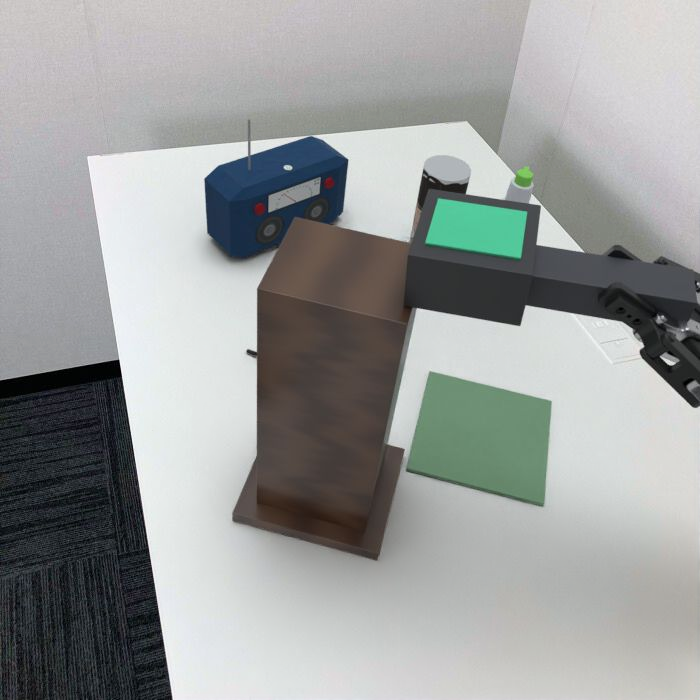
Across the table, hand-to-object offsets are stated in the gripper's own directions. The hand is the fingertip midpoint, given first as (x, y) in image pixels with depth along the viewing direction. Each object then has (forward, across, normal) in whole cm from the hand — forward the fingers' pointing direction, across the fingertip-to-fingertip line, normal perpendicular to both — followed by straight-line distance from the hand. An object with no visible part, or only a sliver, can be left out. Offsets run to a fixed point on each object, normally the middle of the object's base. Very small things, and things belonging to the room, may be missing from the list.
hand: (607, 273), depth 56 cm
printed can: (-2, -45, +40) cm, 60 cm away
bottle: (-11, -39, +35) cm, 54 cm away
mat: (-13, -12, +34) cm, 38 cm away
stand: (+2, +1, +41) cm, 41 cm away
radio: (+19, -42, +50) cm, 68 cm away
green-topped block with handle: (+2, 0, +5) cm, 5 cm away
